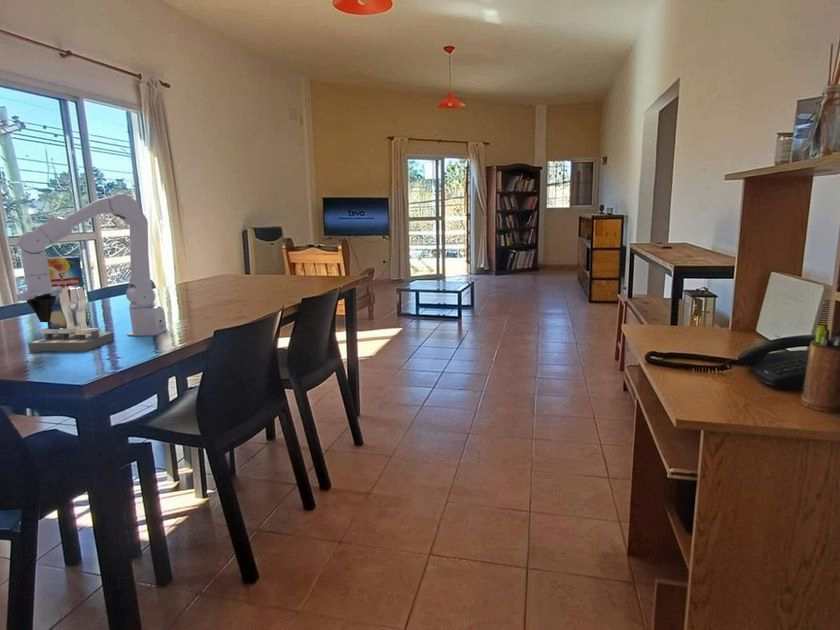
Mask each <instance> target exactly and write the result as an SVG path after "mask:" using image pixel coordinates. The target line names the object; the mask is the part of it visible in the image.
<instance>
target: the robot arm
mask: <svg viewBox="0 0 840 630" xmlns="http://www.w3.org/2000/svg"><path fill="white" fill-rule="evenodd" d="M102 214H105V215H106V214H111V215H113V216H115V217H117V218H119V219H121V220H122V221H123V222H124V223H125V224H127V225H128V226H129V253H130V277H129V281H128V287H127V289H126V292H125V297H126V298H127V299H126V300H128V301H129V302H130V304H129V305H128V309H129V315H130V323H131V330H132V332H128V333H127V334H126V336H128V337H129V336H130V337H131V336H132V337H133V336H134V337H135V336H136V337H137V336H141V337H143V336H146V337H147V336H157V335H159V334H162V333H164V332H166V331H168V328H167V323H166V322H167V321H166V316H165V315H166V313H165V310H164V307H162V306H159V305H158V306H157V305H155V300H156V293H155V291H154V290H153V285H152V284H153V283H152V281H151V278H150V272H149V271H150V268H149V265H150V264H149V263H150V262H149V231H148V230H149V224H148V223H149V221H148V219H147V217H146V216H145V214H144V213H143V211H142V209H141V208H140V206H139V204H138V202H137V200H135V199H134V198H133V197H131V195H129V194H126V193H117V194H114V193H112V194H109V195H107V196H106V197H103V198H100V199H97V200H94V201H92V202H90V203H88V204H87V205H85V206H83V207H82V208H80V209H78V210H77V211H75V212H72V213H71V214H69V215H68V216H66V217H62V216H55V217H53V216H49V217H48V218H46V219H47V221H45V222H44V223H41V224H39V225H38V226H36V227H35V226H33V227H30V230H31V231H26V232H24V233H21V235H19V238H18V241H17V247H19V249H21V254H20V255H21V257H22V259H21V261H22V263H21V264H22V268H23V273H24V279H25V285H26V290H24V291H23V292H20V293H16V294H15V295H16V300H17V302H26V303H27V304H28V305H29V306H30V307H31V309H32V310H33V311H34V313H35V314H36V317H37V319H38V320H39V323H47V322H49V321H50V319H51V312H52V307H53V304H54V302H55V300H56V296H51V295H52V294H57V293H62V287H52V286H51V279H50V273H49V267H48V261H47V258H46V257H47V253H46V250H45V249H46V248H47V245H48V246H50V245H53V244H55V243H57V242H58V241H61V240H63V239H65V238H66V237H68V236H69V235H71V234H72V231H73V228H74V227H76V226H78V225H80V224H82V223H84V222H86V221H88V220H90V219H92V218H94V217H96V216H97V215H102Z"/></svg>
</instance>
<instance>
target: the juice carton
mask: <svg viewBox="0 0 840 630" xmlns="http://www.w3.org/2000/svg"><path fill="white" fill-rule="evenodd" d="M46 258H47V261H48V267H49V273H50V279H51V286H52V287H62V288H63V287H71V286H82V287H83V291H84V294H85V295H86V293H85V286H84V280H83V279H84V278H83V273H82V267H81V266H82V265H81V258H80V255H65V256H64V255H63V256H51V257H50V256H49V257H47V256H46ZM51 296H56V300H55V302H54V304H53V307H52V312H51V319H50V321H49V322H46V324H47V329H57V330H58V329H60V328H65V329H67V323H66V319H65V316H64V314H63V311H62V308H61V305H60V299H59V293H57V294H52V295H51ZM85 300H86V301H87V299H86V297H85ZM85 319H86V324H87V327H88V325H90V319H89V313H88V305H87V304H86V315H85ZM90 326H91V325H90Z"/></svg>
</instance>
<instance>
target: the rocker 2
mask: <svg viewBox="0 0 840 630" xmlns="http://www.w3.org/2000/svg"><path fill="white" fill-rule="evenodd" d="M94 330H98V331H99V332H101V328H100V327H92V328H91V327H90V328H89V327H88V329H82V330H75V335H85V334H91V331H94Z"/></svg>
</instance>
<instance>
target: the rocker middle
mask: <svg viewBox="0 0 840 630" xmlns="http://www.w3.org/2000/svg"><path fill="white" fill-rule="evenodd" d="M57 330H58V333H63V334H75V330H77V329H67V328H65V329H57Z"/></svg>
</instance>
